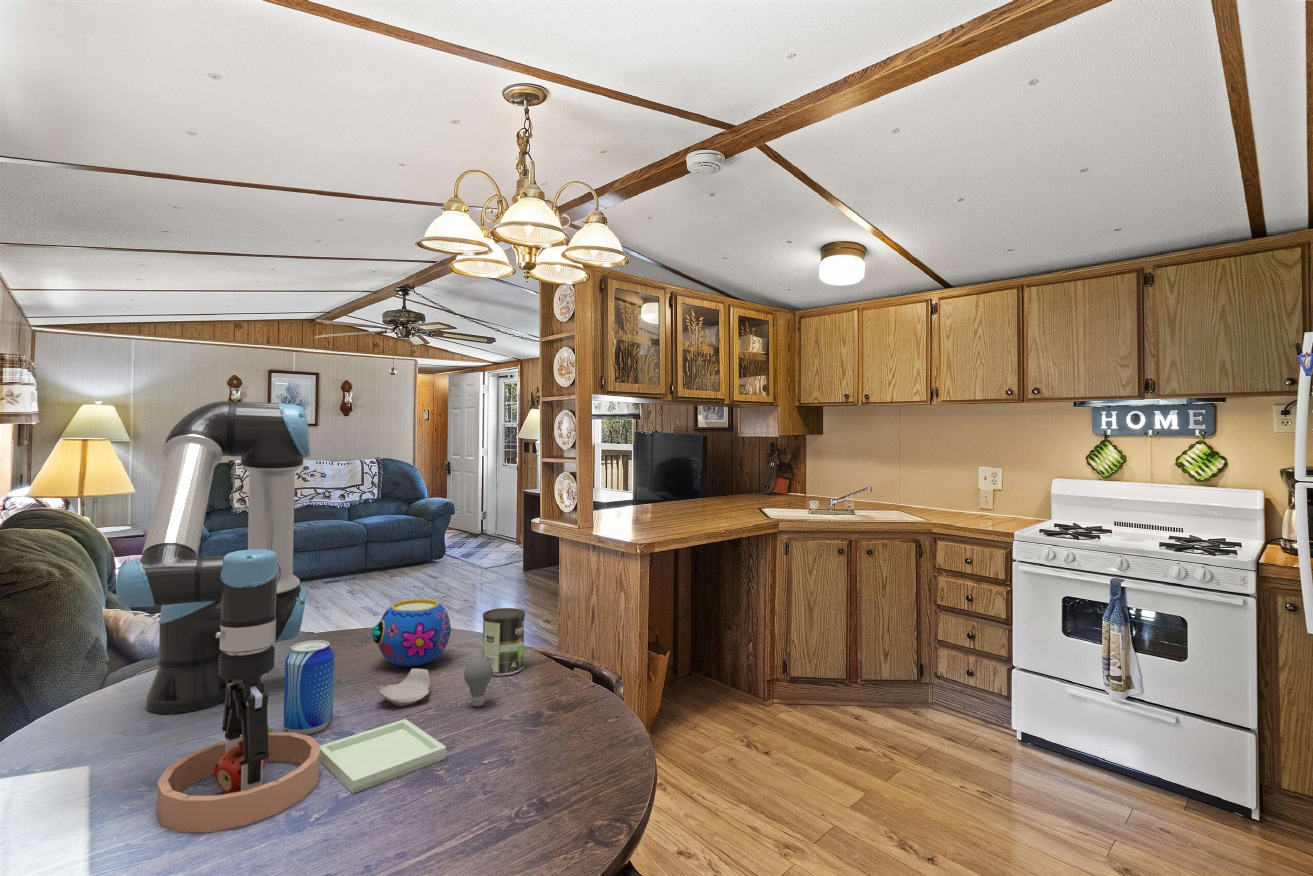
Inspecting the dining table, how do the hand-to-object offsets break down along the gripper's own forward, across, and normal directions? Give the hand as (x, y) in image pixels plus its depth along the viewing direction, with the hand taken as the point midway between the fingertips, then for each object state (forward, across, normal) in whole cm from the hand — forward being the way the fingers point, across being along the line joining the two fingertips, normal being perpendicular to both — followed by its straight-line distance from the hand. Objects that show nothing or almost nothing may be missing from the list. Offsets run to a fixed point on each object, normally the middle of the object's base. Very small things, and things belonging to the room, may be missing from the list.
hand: (242, 790), depth 99 cm
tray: (0, +5, +20) cm, 21 cm away
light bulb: (0, -3, +44) cm, 44 cm away
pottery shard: (0, -16, +34) cm, 38 cm away
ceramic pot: (0, -37, +46) cm, 59 cm away
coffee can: (0, -18, +60) cm, 63 cm away
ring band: (0, 0, 0) cm, 0 cm away
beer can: (0, -17, +15) cm, 23 cm away
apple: (0, 0, 0) cm, 0 cm away
